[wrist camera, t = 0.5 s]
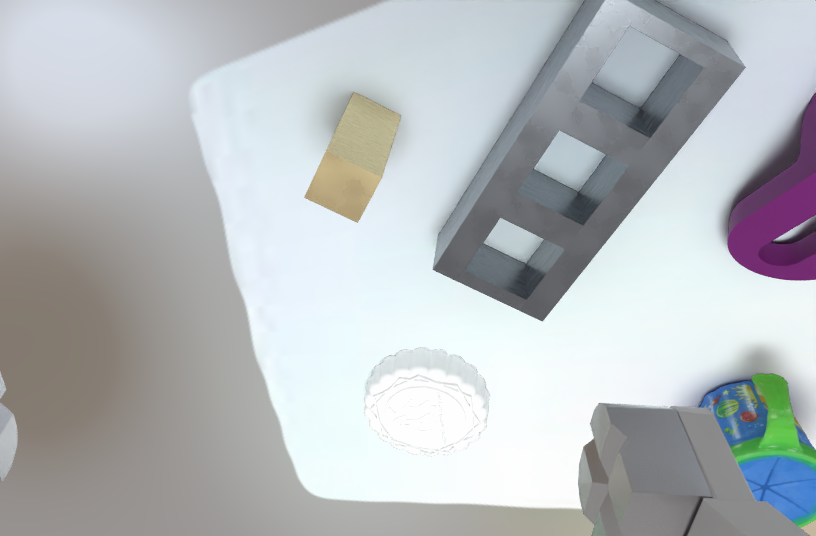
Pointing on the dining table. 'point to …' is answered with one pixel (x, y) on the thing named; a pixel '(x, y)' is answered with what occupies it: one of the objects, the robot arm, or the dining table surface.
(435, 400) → the mooncake
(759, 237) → the mounting bracket
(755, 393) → the snack cup
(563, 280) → the grey rectangular block
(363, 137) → the brass peg
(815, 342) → the dining table surface
